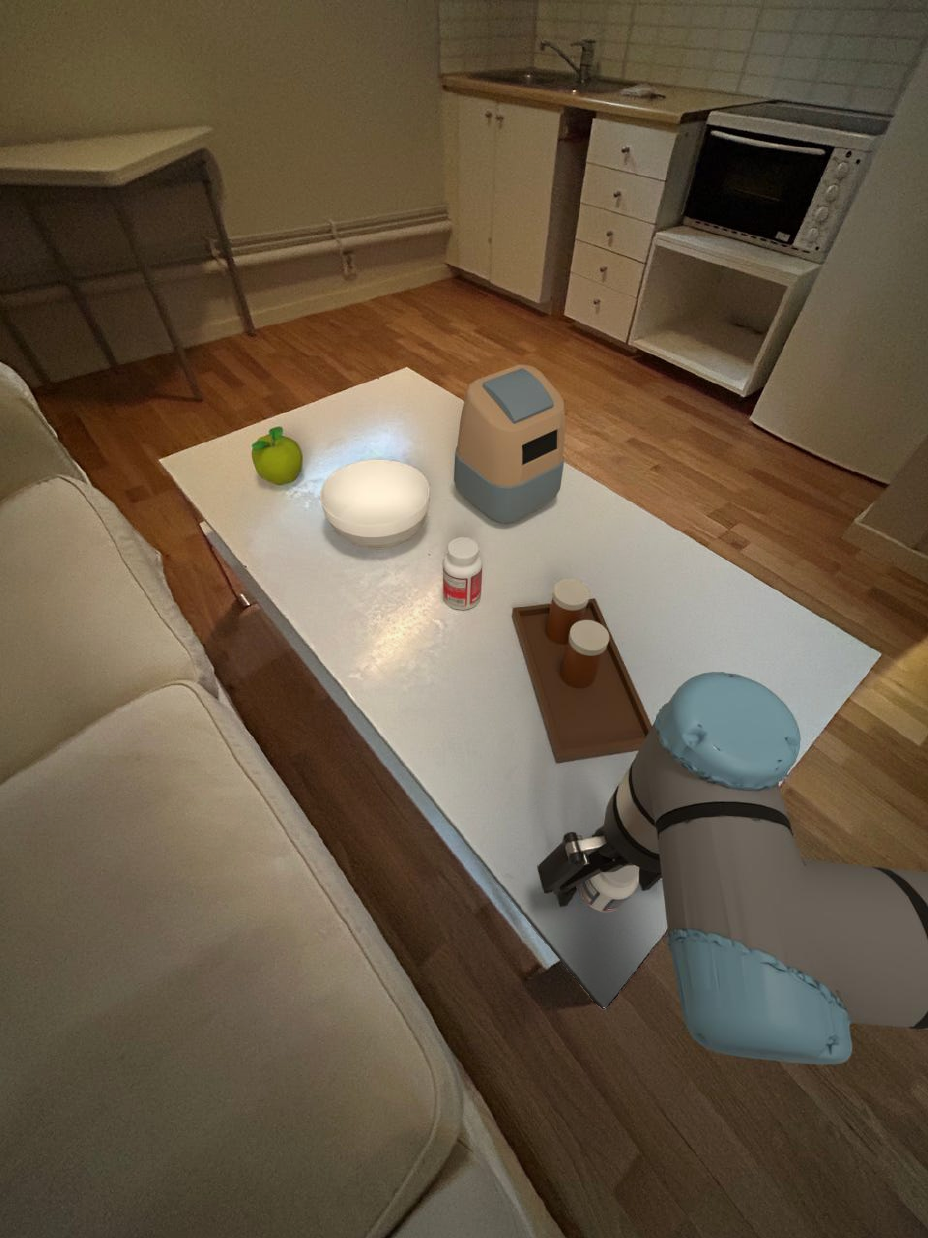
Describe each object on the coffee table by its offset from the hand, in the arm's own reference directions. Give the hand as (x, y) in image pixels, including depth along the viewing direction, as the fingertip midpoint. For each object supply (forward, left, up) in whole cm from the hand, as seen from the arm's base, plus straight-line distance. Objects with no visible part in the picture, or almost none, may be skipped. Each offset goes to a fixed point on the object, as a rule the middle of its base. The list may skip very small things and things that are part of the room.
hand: (601, 885), depth 61 cm
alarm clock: (+71, -5, 0) cm, 71 cm away
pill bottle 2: (0, 0, 0) cm, 0 cm away
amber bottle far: (+36, -6, 0) cm, 36 cm away
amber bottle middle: (+28, -6, 0) cm, 29 cm away
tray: (+28, -6, 0) cm, 29 cm away
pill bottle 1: (+46, +8, 0) cm, 47 cm away
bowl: (+65, +20, 0) cm, 68 cm away
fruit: (+83, +38, 0) cm, 91 cm away
